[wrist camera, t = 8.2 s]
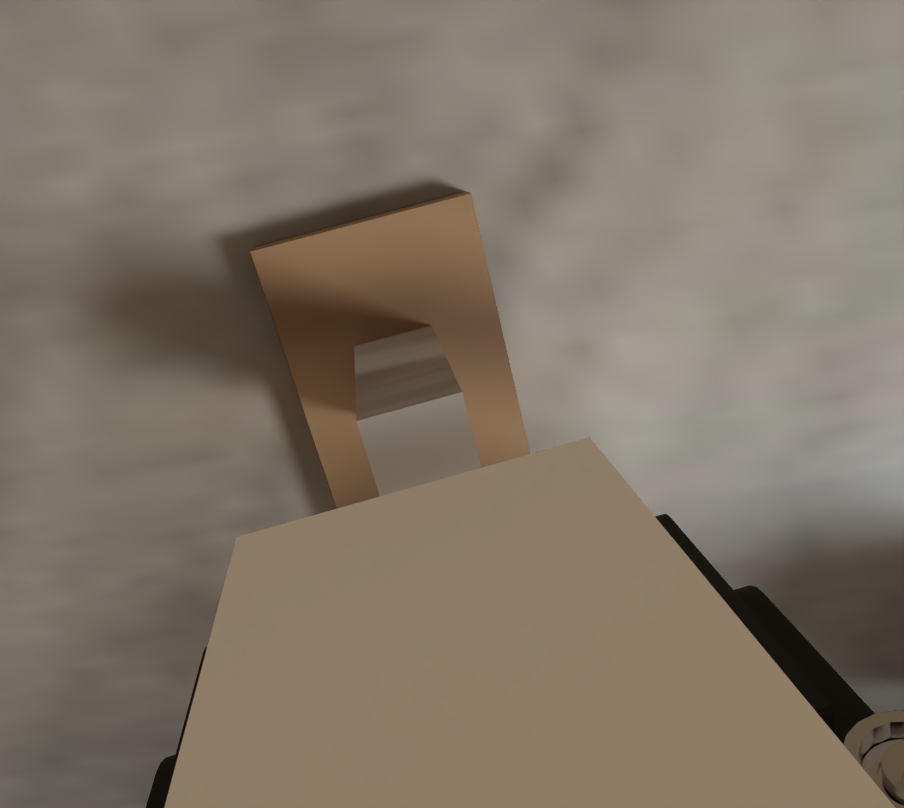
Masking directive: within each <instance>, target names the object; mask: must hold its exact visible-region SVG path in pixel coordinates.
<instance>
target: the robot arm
mask: <svg viewBox="0 0 904 808" xmlns="http://www.w3.org/2000/svg"><path fill="white" fill-rule="evenodd" d="M656 519H657V520H658V521H659V522H660V523H661V525H662V526H663V527H664V528H665V529H666V531H667V532H668V533H669V534H670V536H671V537H672V538H673V539H674V540H675V542H676V543H677V544H678V545H679V546H680V548H681V549H682V550H683V551H684V552H685V554H686V555H687V556H688V557H689V558H690V560H691V561H692V562H693V563H694V565H695V566H696V567H697V568H698V569H699V571H700V572H701V573H702V574H703V575H704V577H705V578H706V579H707V580H708V581H709V583H710V584H711V585H712V586H713V588H714V589H715V590H716V591H717V592H718V594H719V595H720V596H721V597H722V598H723V600H724V601H725V602H726V603H727V604H728V606H729V607H730V608H731V609H732V611H733V612H734V613H735V614H736V615H737V617H738V618H739V619H740V620H741V621H742V623H743V624H744V625H745V626H746V627H747V629H748V630H749V631H750V632H751V634H752V635H753V636H754V637H755V638H756V640H757V641H758V642H759V643H760V644H761V646H762V647H763V648H764V649H765V650H766V652H767V653H768V654H769V655H770V657H771V658H772V659H773V660H774V661H775V663H776V664H777V665H778V666H779V667H780V669H781V670H782V671H783V672H784V673H785V675H786V676H787V677H788V678H789V680H790V681H791V682H792V683H793V684H794V686H795V687H796V688H797V689H798V690H799V692H800V693H801V694H802V695H803V696H804V698H805V699H806V700H807V701H808V702H809V704H810V705H811V706H812V707H813V709H814V710H815V711H816V712H817V713H818V715H819V716H820V717H821V718H822V719H823V721H824V722H825V723H826V724H827V725H828V727H829V728H830V729H831V730H832V732H833V733H834V734H835V735H836V736H837V738H838V739H839V740H840V741H841V742H842V744H843V745H844V746H845V747H846V748H847V750H848V751H849V752H850V753H851V755H852V756H853V757H854V758H855V759H856V761H857V762H858V763H859V764H860V765H861V767H862V768H863V769H864V770H865V771H866V773H867V774H868V775H869V776H870V778H871V779H872V780H873V781H874V782H875V784H876V785H877V786H878V787H879V788H880V790H881V791H882V792H883V793H884V794H885V796H886V797H887V798H888V799H889V801H890V802H891V803H892V804H893V805H894V807H895V808H904V711H898V710H894V711H889V712H883V713H878V714H875V713H874V712H873V711H872V710H871V709H870V708H869V707H868V706H867V705H866V704H865V703H864V702H863V700H862V699H861V698H860V697H859V696H858V695H857V694H856V693H855V692H854V691H853V690H852V689H851V687H850V686H849V685H848V684H847V683H846V682H845V681H844V680H843V679H842V678H841V677H840V676H839V674H838V673H837V672H836V671H835V670H834V669H833V668H832V667H831V666H830V665H829V664H828V663H827V661H826V660H825V659H824V658H823V657H822V656H821V655H820V654H819V653H818V652H817V651H816V650H815V649H814V647H813V646H812V645H811V644H810V643H809V642H808V641H807V640H806V639H805V638H804V637H803V636H802V634H801V633H800V632H799V631H798V630H797V629H796V628H795V627H794V626H793V625H792V624H791V623H790V621H789V620H788V619H787V618H786V617H785V616H784V615H783V614H782V613H781V612H780V611H779V610H778V609H777V607H776V606H775V605H774V604H773V603H772V602H771V601H770V600H769V599H768V598H767V597H766V596H765V594H764V593H763V592H761V591H760V590H759V589H758V588H757V587H754V586H751V585H750V586H746V587H743V588H739V589H736V590H733V589H732V588H731V587H730V586H729V585H728V584H727V582H726V581H725V580H724V579H723V578H722V577H721V575H720V574H719V573H718V572H717V571H716V570H715V568H714V567H713V566H712V565H711V564H710V563H709V562H708V560H707V559H706V558H705V557H704V556H703V555H702V553H701V552H700V551H699V550H698V549H697V548H696V546H695V545H694V544H693V543H692V542H691V541H690V540H689V538H688V537H687V536H686V535H685V534H684V533H683V531H682V530H681V529H680V528H679V527H678V526H677V525H676V523H675V522H674V521H673V520H672V519H671V518H670V517H669V516H668V515H667V514H663V515H659V516H656ZM206 650H207V647H206V648H205V650H204V652H203V656H202V660H201V663H200V667H199V671H198V674H197V678H196V682H195V685H194V689H193V693H192V697H191V700H190V704H189V708H188V711H187V715H186V719H185V722H184V726H183V730H182V733H181V737H180V741H179V744H178V748H177V752H176V755H173V756H170V757H166V758H165V759H164V760H163V761H162V762H161V763H160V765H159V768H158V770H157V772H156V775H155V779H154V782H153V785H152V789H151V792H150V796H149V799H148V802H147V806H146V808H164V807H165V803H166V799H167V795H168V792H169V788H170V784H171V781H172V777H173V773H174V769H175V766H176V762H177V758H178V754H179V751H180V747H181V743H182V740H183V736H184V732H185V728H186V725H187V721H188V717H189V713H190V710H191V706H192V702H193V698H194V695H195V691H196V687H197V684H198V680H199V676H200V672H201V669H202V665H203V661H204V657H205V654H206Z"/></svg>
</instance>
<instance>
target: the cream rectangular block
mask: <svg viewBox="0 0 904 808" xmlns="http://www.w3.org/2000/svg"><path fill="white" fill-rule="evenodd" d="M164 808H895V807H894V805H893V804H892V803H891V802H890V801H889V799H888V798H887V797H886V796H885V794H884V793H883V792H882V791H881V790H880V788H879V787H878V786H877V785H876V784H875V782H874V781H873V780H872V779H871V778H870V776H869V775H868V774H867V773H866V771H865V770H864V769H863V768H862V767H861V765H860V764H859V763H858V762H857V761H856V759H855V758H854V757H853V756H852V755H851V753H850V752H849V751H848V750H847V748H846V747H845V746H844V745H843V744H842V742H841V741H840V740H839V739H838V738H837V736H836V735H835V734H834V733H833V732H832V730H831V729H830V728H829V727H828V725H827V724H826V723H825V722H824V721H823V719H822V718H821V717H820V716H819V715H818V713H817V712H816V711H815V710H814V709H813V707H812V706H811V705H810V704H809V702H808V701H807V700H806V699H805V698H804V696H803V695H802V694H801V693H800V692H799V690H798V689H797V688H796V687H795V686H794V684H793V683H792V682H791V681H790V680H789V678H788V677H787V676H786V675H785V673H784V672H783V671H782V670H781V669H780V667H779V666H778V665H777V664H776V663H775V661H774V660H773V659H772V658H771V657H770V655H769V654H768V653H767V652H766V650H765V649H764V648H763V647H762V646H761V644H760V643H759V642H758V641H757V640H756V638H755V637H754V636H753V635H752V634H751V632H750V631H749V630H748V629H747V627H746V626H745V625H744V624H743V623H742V621H741V620H740V619H739V618H738V617H737V615H736V614H735V613H734V612H733V611H732V609H731V608H730V607H729V606H728V604H727V603H726V602H725V601H724V600H723V598H722V597H721V596H720V595H719V594H718V592H717V591H716V590H715V589H714V588H713V586H712V585H711V584H710V583H709V581H708V580H707V579H706V578H705V577H704V575H703V574H702V573H701V572H700V571H699V569H698V568H697V567H696V566H695V565H694V563H693V562H692V561H691V560H690V558H689V557H688V556H687V555H686V554H685V552H684V551H683V550H682V549H681V548H680V546H679V545H678V544H677V543H676V542H675V540H674V539H673V538H672V537H671V536H670V534H669V533H668V532H667V531H666V529H665V528H664V527H663V526H662V525H661V523H660V522H659V521H658V520H657V519H656V517H655V516H654V515H653V514H652V513H651V511H650V510H649V509H648V508H647V506H646V505H645V504H644V503H643V502H642V500H641V499H640V498H639V497H638V496H637V494H636V493H635V492H634V491H633V490H632V488H631V487H630V486H629V485H628V483H627V482H626V481H625V480H624V479H623V477H622V476H621V475H620V474H619V473H618V471H617V470H616V469H615V468H614V467H613V465H612V464H611V463H610V462H609V460H608V459H607V458H606V457H605V456H604V454H603V453H602V452H601V451H600V450H599V448H598V447H597V446H596V445H595V444H594V442H593V441H592V440H591V439H590V437H589V438H585V439H582V440H578V441H575V442H571V443H568V444H564V445H560V446H557V447H553V448H550V449H546V450H543V451H539V452H536V453H532V454H529V455H525V456H522V457H518V458H514V459H511V460H507V461H504V462H500V463H497V464H493V465H490V466H486V467H483V468H479V469H476V470H472V471H468V472H465V473H461V474H458V475H454V476H451V477H447V478H444V479H440V480H437V481H433V482H430V483H426V484H422V485H419V486H415V487H412V488H408V489H405V490H401V491H398V492H394V493H391V494H387V495H384V496H380V497H376V498H373V499H369V500H366V501H362V502H359V503H355V504H352V505H348V506H345V507H341V508H338V509H334V510H330V511H327V512H323V513H320V514H316V515H313V516H309V517H306V518H302V519H299V520H295V521H292V522H288V523H284V524H281V525H277V526H274V527H270V528H267V529H263V530H260V531H256V532H253V533H249V534H246V535H242V536H238V537H237V538H236V542H235V545H234V549H233V553H232V557H231V560H230V564H229V568H228V572H227V575H226V579H225V583H224V586H223V590H222V594H221V598H220V601H219V605H218V609H217V613H216V616H215V620H214V624H213V628H212V631H211V635H210V639H209V642H208V646H207V650H206V654H205V657H204V661H203V665H202V669H201V672H200V676H199V680H198V684H197V687H196V691H195V695H194V698H193V702H192V706H191V710H190V713H189V717H188V721H187V725H186V728H185V732H184V736H183V740H182V743H181V747H180V751H179V754H178V758H177V762H176V766H175V769H174V773H173V777H172V781H171V784H170V788H169V792H168V795H167V799H166V803H165V807H164Z"/></svg>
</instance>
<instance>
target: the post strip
mask: <svg viewBox="0 0 904 808" xmlns="http://www.w3.org/2000/svg"><path fill="white" fill-rule="evenodd" d="M250 253H251V256H252V258H253V261H254V264H255V267H256V270H257V273H258V276H259V279H260V282H261V285H262V288H263V291H264V294H265V297H266V300H267V303H268V306H269V309H270V312H271V315H272V318H273V321H274V324H275V327H276V330H277V333H278V336H279V339H280V342H281V345H282V348H283V351H284V353H285V356H286V359H287V362H288V365H289V368H290V371H291V374H292V377H293V380H294V383H295V386H296V389H297V392H298V395H299V398H300V401H301V404H302V407H303V410H304V413H305V416H306V419H307V422H308V425H309V428H310V431H311V434H312V437H313V440H314V443H315V446H316V449H317V451H318V454H319V457H320V460H321V463H322V466H323V469H324V472H325V475H326V478H327V481H328V484H329V487H330V490H331V493H332V496H333V499H334V502H335V505H336V508H337V509H338V508H341V507H345V506H348V505H352V504H355V503H359V502H362V501H366V500H369V499H373V498H376V497H380V496H384V495H387V494H391V493H394V492H398V491H401V490H405V489H408V488H412V487H415V486H419V485H422V484H426V483H430V482H433V481H437V480H440V479H444V478H447V477H451V476H454V475H458V474H461V473H465V472H468V471H472V470H476V469H479V468H483V467H486V466H490V465H493V464H497V463H500V462H504V461H507V460H511V459H514V458H518V457H522V456H525V455H529V454H530V452H529V448H528V443H527V439H526V435H525V430H524V426H523V421H522V417H521V413H520V408H519V404H518V399H517V395H516V390H515V386H514V382H513V377H512V373H511V368H510V364H509V359H508V355H507V351H506V346H505V342H504V337H503V333H502V329H501V324H500V320H499V315H498V311H497V306H496V302H495V298H494V293H493V289H492V284H491V280H490V276H489V271H488V267H487V262H486V258H485V253H484V249H483V245H482V240H481V236H480V231H479V227H478V222H477V218H476V214H475V209H474V205H473V200H472V196H471V193H469V192H462V193H458V194H455V195H451V196H447V197H443V198H440V199H436V200H432V201H428V202H424V203H421V204H417V205H413V206H409V207H406V208H402V209H398V210H394V211H390V212H387V213H383V214H379V215H375V216H372V217H368V218H364V219H360V220H356V221H353V222H349V223H345V224H341V225H338V226H334V227H330V228H326V229H322V230H319V231H315V232H311V233H307V234H304V235H300V236H296V237H292V238H288V239H285V240H281V241H277V242H273V243H270V244H266V245H262V246H258V247H254V248H253V249H252V250H251V252H250Z"/></svg>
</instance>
